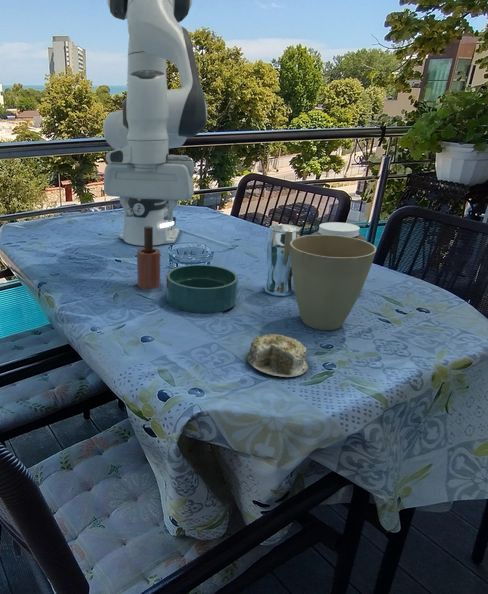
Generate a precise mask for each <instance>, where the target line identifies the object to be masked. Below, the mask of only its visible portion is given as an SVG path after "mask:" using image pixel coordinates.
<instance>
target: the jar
mask: <svg viewBox="0 0 488 594" xmlns="http://www.w3.org/2000/svg"><path fill="white" fill-rule="evenodd" d="M318 225H319V226H318V230H316V231H315V232H313V233H311V234H310V235H338V236H346V237H352V238H356V239H360V240H363V241H366V237H365V236H363V235H362V234H360V230H361V227H360V226H359V225H357V224H353V223H350V222H349V223H348V222H338V221H337V222H336V221H330V222H323V223H320V224H318ZM366 242H367V241H366Z"/></svg>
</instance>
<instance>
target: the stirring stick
mask: <svg viewBox="0 0 488 594" xmlns="http://www.w3.org/2000/svg"><path fill="white" fill-rule="evenodd" d="M143 248H144V253H153V248H154V245H153V227H151V226H146V227H144V246H143Z"/></svg>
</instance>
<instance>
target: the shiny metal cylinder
mask: <svg viewBox="0 0 488 594" xmlns="http://www.w3.org/2000/svg"><path fill="white" fill-rule="evenodd" d="M301 231H302V228H301V227H300V226H298V225H295V224H287V223H284V224H283V223H279V224H272V225H270V226H269V229H268V234H267V242H266V263H267V265H266V266H267V279H266V283H265V286H264V292H265V293H267V294H269V295H271V296H275V297H286V296H290V295H291V294H293V285H292V284H293V278H292V269H291V255H290V242H291V241H292V240H293V239H295V238H297V237H301Z"/></svg>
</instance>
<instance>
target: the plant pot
mask: <svg viewBox="0 0 488 594" xmlns="http://www.w3.org/2000/svg"><path fill="white" fill-rule="evenodd" d="M376 253H377V247H376V246H375V245H374V244H372V243H371V242H369V241H363V240H360V239H356V238H352V237H346V236H338V235H311V234H308V235H300V237H297V238H295V239H293V240H292V241H291V242H290V255H291V269H292V284H293V289H294V295H295V299H296V304H297V307H298V311H299V315H300V317H301V322H302V323H303V324H304V325H305V326H307V327H309V328H312V329H315V330H318V331H334V330H338V329H340V328H341V327H342V325H343V324H344V322H345V321H346V319H347V318H348V316H349V315H350V313H351V312H352V309H353V308H354V306H355V304H356V302H357V300H358V298H359V296H360V294H361V292H362V290H363V287H364V285H365V283H366V281H367V278H368V275H369V272H370V270H371V267H372V264H373V262H374V259H375V255H376Z"/></svg>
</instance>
